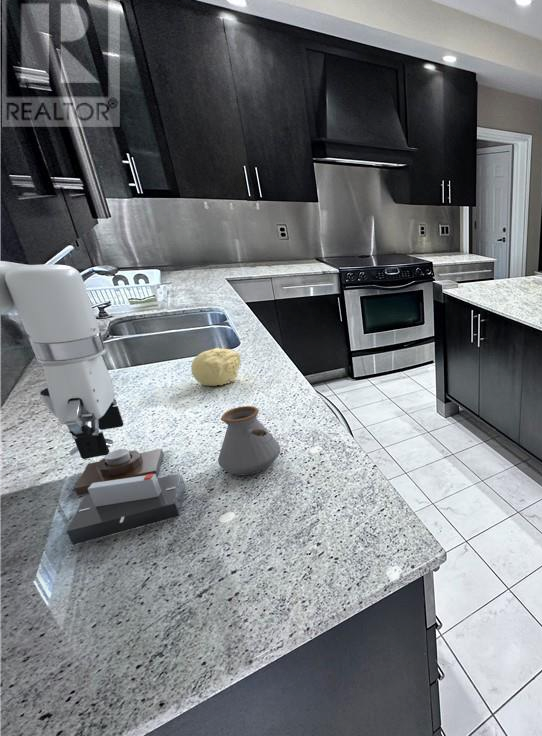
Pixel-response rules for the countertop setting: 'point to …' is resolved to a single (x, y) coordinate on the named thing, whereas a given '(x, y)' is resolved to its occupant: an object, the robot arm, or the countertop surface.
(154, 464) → the switch block
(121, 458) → the button
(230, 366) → the pale yellow lumpy ball
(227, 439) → the coffee pot
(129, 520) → the dark grey flat block
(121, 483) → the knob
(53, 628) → the countertop surface
